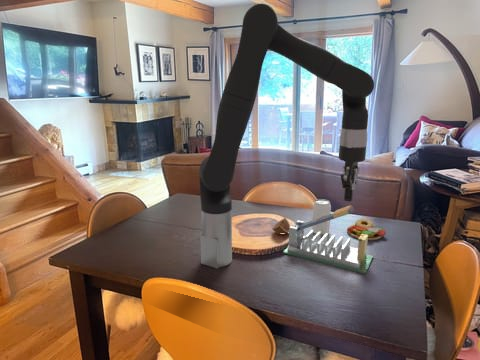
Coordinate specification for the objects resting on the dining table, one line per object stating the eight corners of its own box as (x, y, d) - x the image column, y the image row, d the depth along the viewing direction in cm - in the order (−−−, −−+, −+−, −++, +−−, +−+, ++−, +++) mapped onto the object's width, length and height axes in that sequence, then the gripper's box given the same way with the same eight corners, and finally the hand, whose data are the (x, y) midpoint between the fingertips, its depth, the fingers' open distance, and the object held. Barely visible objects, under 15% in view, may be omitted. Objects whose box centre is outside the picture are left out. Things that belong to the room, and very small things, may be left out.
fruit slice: (287, 239, 127) (287, 226, 125) (269, 236, 129) (269, 224, 128) (292, 230, 134) (293, 218, 133) (275, 228, 136) (276, 216, 135)
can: (329, 236, 129) (331, 205, 126) (311, 234, 131) (313, 203, 127) (328, 229, 136) (331, 199, 132) (311, 227, 137) (313, 198, 134)
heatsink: (283, 253, 116) (284, 227, 114) (296, 239, 126) (298, 216, 124) (365, 274, 104) (368, 246, 101) (373, 257, 114) (375, 231, 111)
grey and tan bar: (293, 234, 117) (290, 228, 117) (298, 229, 121) (295, 224, 121) (351, 214, 106) (348, 208, 106) (355, 210, 109) (352, 204, 109)
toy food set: (362, 224, 141) (362, 217, 140) (392, 236, 130) (393, 228, 129) (339, 232, 133) (340, 224, 132) (369, 245, 123) (370, 236, 122)
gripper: (345, 139, 110) (341, 192, 115) (333, 146, 99) (329, 204, 104) (370, 141, 106) (365, 196, 111) (361, 148, 95) (355, 209, 100)
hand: (348, 200), depth 107 cm, fingers closed
